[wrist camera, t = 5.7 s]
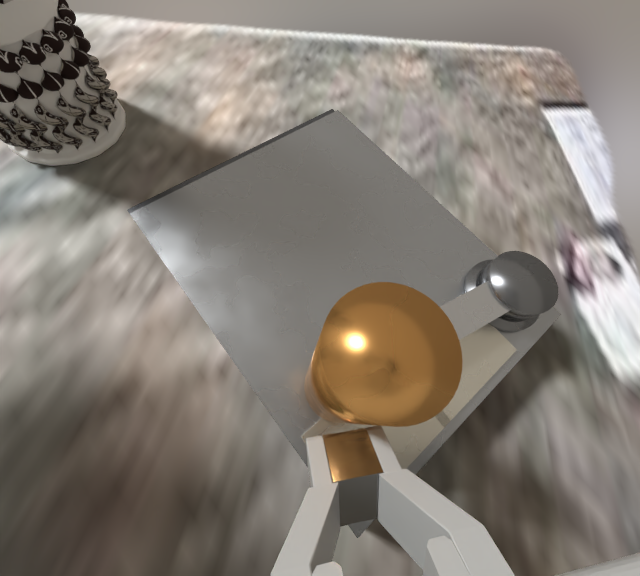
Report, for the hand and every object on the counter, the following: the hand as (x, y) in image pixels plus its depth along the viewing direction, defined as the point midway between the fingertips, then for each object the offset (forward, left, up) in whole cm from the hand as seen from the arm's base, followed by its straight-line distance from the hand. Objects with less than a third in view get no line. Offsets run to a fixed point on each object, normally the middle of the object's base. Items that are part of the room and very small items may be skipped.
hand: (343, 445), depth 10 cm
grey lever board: (-6, +7, -8) cm, 12 cm away
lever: (0, +7, -4) cm, 8 cm away
